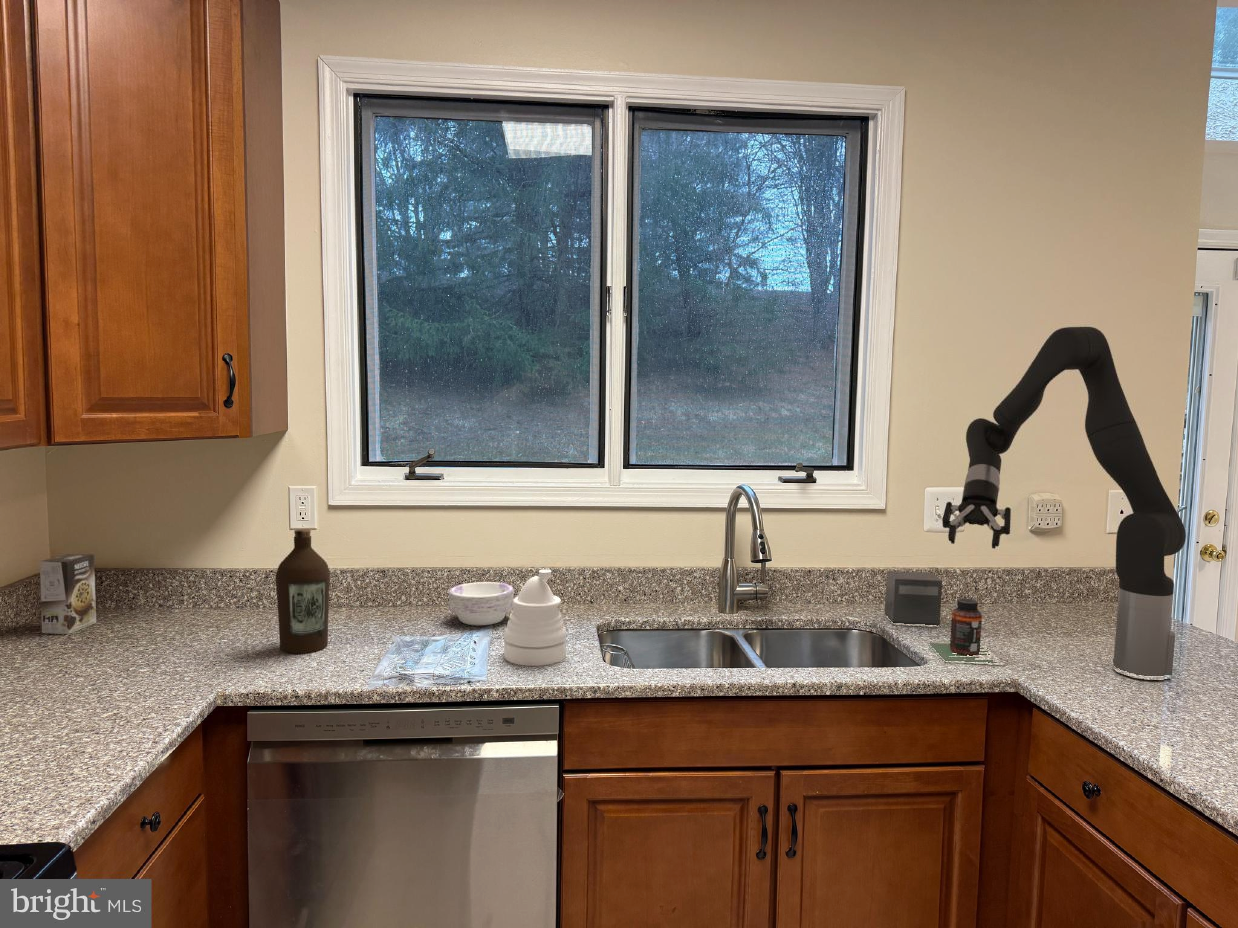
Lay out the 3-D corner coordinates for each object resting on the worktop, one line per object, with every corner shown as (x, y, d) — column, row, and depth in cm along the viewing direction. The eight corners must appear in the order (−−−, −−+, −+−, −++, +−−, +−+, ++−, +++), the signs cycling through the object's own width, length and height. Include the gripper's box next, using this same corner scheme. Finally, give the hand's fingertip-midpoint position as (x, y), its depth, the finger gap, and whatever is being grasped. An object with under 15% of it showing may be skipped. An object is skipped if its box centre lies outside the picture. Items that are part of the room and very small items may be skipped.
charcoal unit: (928, 616, 203) (931, 572, 202) (940, 628, 193) (943, 581, 192) (884, 614, 204) (886, 570, 203) (893, 625, 194) (895, 579, 193)
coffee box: (70, 634, 175) (67, 561, 173) (40, 633, 175) (37, 560, 173) (98, 622, 184) (95, 553, 182) (70, 622, 184) (67, 552, 183)
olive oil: (272, 644, 171) (270, 528, 169) (324, 636, 177) (322, 524, 175) (282, 658, 162) (280, 536, 160) (336, 649, 168) (335, 531, 166)
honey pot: (574, 649, 172) (575, 566, 170) (553, 668, 159) (554, 579, 158) (518, 643, 175) (519, 562, 174) (493, 661, 163) (494, 574, 161)
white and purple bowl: (443, 615, 196) (443, 583, 195) (504, 609, 202) (504, 578, 201) (455, 632, 182) (456, 598, 181) (520, 626, 188) (521, 593, 187)
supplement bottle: (982, 657, 169) (985, 605, 168) (952, 655, 171) (955, 603, 170) (976, 648, 175) (979, 598, 174) (947, 646, 176) (950, 596, 176)
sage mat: (984, 648, 178) (984, 645, 178) (1004, 665, 166) (1004, 663, 166) (928, 645, 179) (929, 642, 179) (944, 662, 167) (944, 659, 167)
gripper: (948, 475, 190) (938, 530, 182) (1015, 480, 184) (1007, 538, 175) (949, 495, 196) (940, 549, 187) (1014, 500, 189) (1007, 557, 180)
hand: (972, 544), depth 181 cm, fingers open, 8 cm apart
